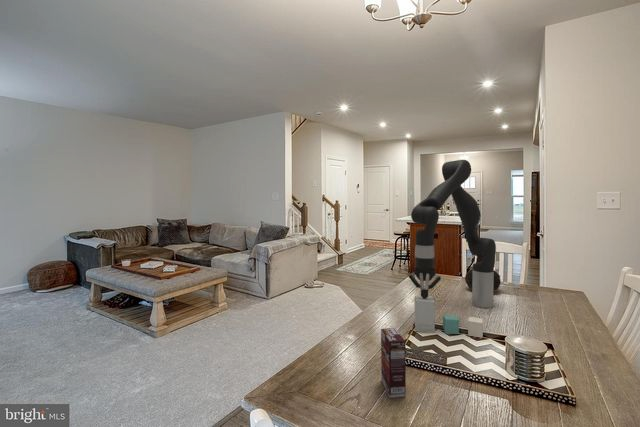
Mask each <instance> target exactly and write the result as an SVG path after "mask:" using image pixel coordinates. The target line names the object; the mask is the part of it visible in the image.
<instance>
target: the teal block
mask: <svg viewBox="0 0 640 427" xmlns="http://www.w3.org/2000/svg"><path fill="white" fill-rule="evenodd" d="M443 329H444V330H443ZM442 330H443V332H444V334H445V335H451V334H459V335H460V319H459V318H458V317H457V315H456V314H455V315H454V314H442Z"/></svg>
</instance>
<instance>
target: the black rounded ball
mask: <svg viewBox="0 0 640 427" xmlns="http://www.w3.org/2000/svg"><path fill="white" fill-rule="evenodd" d="M482 260H483V257H481V256H476V261H475V263H480V262H482ZM464 280H465V283H466V285H467V287H468V288H469V289H470V290H472V283H473V268H472V269H470V270H468V271H467V272H466V273H465V276H464ZM501 282H502V281H501V275H500V274H499V273H498V272H497V271H496V270H494V281H493V293H494V292H495V291H497V290H498V289H499V288H500V286H501Z"/></svg>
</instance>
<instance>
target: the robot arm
mask: <svg viewBox="0 0 640 427" xmlns="http://www.w3.org/2000/svg"><path fill="white" fill-rule="evenodd" d="M441 173H442V177H443V180H444V181H443V182H441V183H440V184H438V185H437V186H436V187H434V188H433V189H432V190H431V192H430V193H429V194H428V195H427V197H426V198H424V199H423V200H422V201H420V202H419V203H417V204H416V205H415V206H414V208H412V210H411V214H410V215H411V216H410V218H411V220H412V222H413V223H415V224H421V225H425V226H424V229H418V230H417V231H416V232H415V248H414V270H413V272H412V273H409V274H408V278H409V279H410V281H411V282H412V283H413V285H414V286H415V287H416V288H418V289H420V296H421V297H423V299H424V298H425V299H426V297H428V296H429V290H431V289H432V290H433V288H434V287H436V285H437V284H438V283H439V282H440V280H441V277H442V276H441V275H439V274H437V272H436V269H435V257H436V255H435V232H436V228H437V225H438V221H439V218H440V216H439V215H440V214H439V210H441V208H442V207H443V206H444V204H445V203H446V201H447V200H448V199H449V198H450V196H451V197H452V199H453V202H454V205H455V207H456V211H457V215H458V216H459V219H460V222H461V224H462V227H463V231H464V234H465V237H466V238H465V240H466V242H467V246H468V249H469V253H471V254H472V256H476V257H477V256H481V257H483V260H482V262H480V263H476V262H474V263H473V264H472V269H473V283H472V289H471V290H472V291H471V292H472V293H471V294H472V296H471V298H472V299H471V301H472V302H471V304H472V305H473V306H474V307H477V308H480V309H481V308H482V309H491V308H493V307H494V292H493V281H494V271H495V266H496V253H497V245H496V241H495V240H494V239H492V238H489V237H488V238H487V237H480V236H479V234H478V232H477V229H478V228H477V227H478V225H479V222H480V220H481V216H482V215H481V214H482V213H481V209H480V207H479V204H478V202H477V200H476V199H475V198H474V197H473V196H472V195H471V194H470V193H469V192H467V191H466V190H465V189H464V188H463V187H462V185H463V184H464V183H465V182H466V181H467V180H468V179H469V177H470V176H471V173H472V166H471V164H470V162H469V160H466V159H458V160H449V161H446V162H444V163H443V164H442V166H441ZM416 278H417V279H418V280H419V282H418V280H417V279H416ZM432 279H434V280H433V281H432V282H431V283H429V282H430V281H431V280H432ZM424 283H425V284H424Z"/></svg>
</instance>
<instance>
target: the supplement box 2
mask: <svg viewBox="0 0 640 427" xmlns="http://www.w3.org/2000/svg"><path fill="white" fill-rule="evenodd" d="M414 328H415V332H418V333H419V332H421V333H432V334H433V333H435V332H436V330H435V329H436V301H435V299H434V296H430V295H428V297H426V299H425V298H424V299H423V297H421V295H414Z"/></svg>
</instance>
